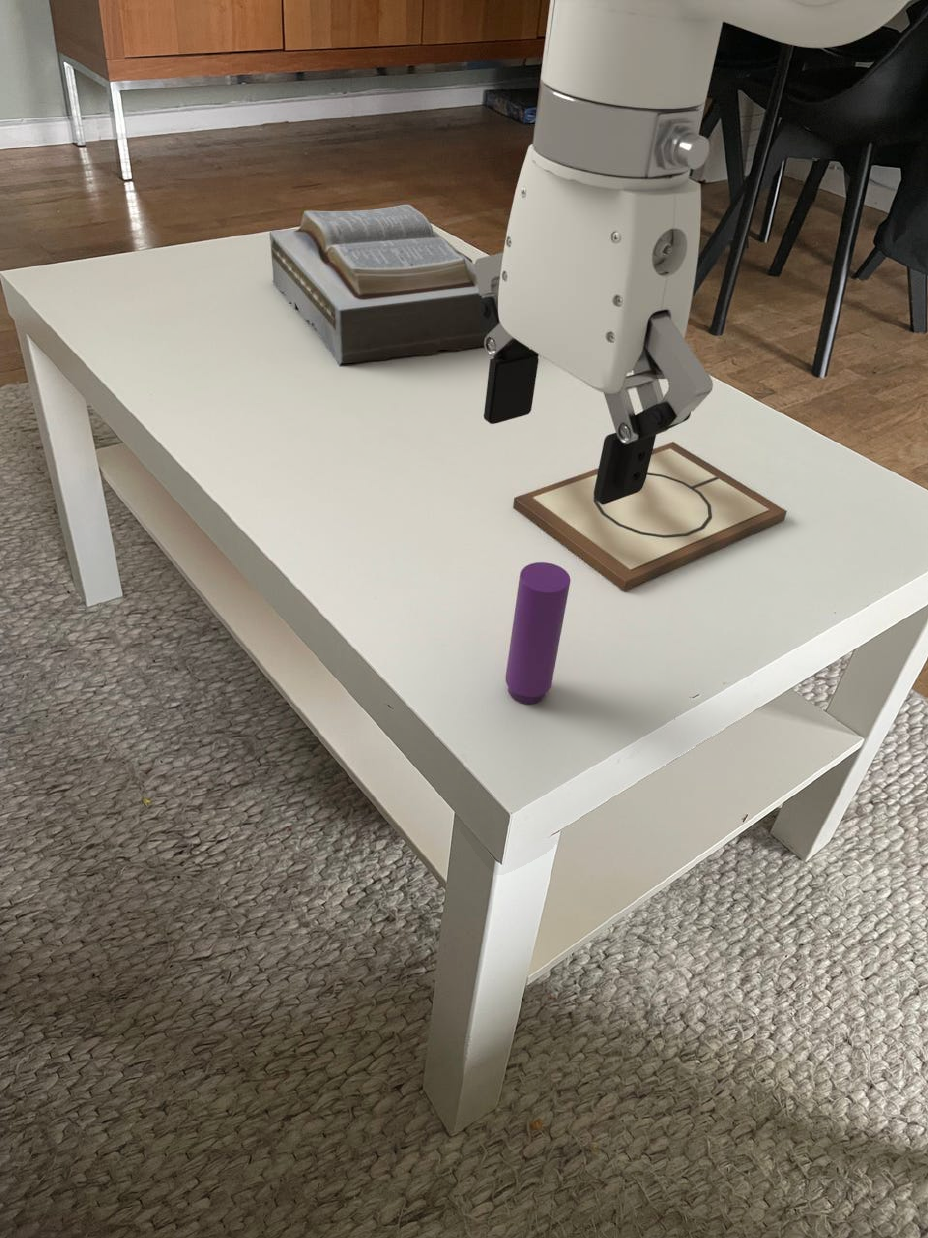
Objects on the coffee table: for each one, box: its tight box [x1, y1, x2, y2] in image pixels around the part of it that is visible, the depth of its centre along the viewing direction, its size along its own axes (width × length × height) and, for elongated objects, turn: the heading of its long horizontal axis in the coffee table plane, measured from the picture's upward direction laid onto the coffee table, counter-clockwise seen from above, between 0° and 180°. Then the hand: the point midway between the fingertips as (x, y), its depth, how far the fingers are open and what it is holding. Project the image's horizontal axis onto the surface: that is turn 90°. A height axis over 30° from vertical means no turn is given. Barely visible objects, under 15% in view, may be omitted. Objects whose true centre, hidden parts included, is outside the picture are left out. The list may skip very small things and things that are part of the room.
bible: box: [268, 204, 488, 367], centre depth 115 cm, size 23×27×10 cm
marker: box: [504, 561, 571, 705], centre depth 67 cm, size 3×3×10 cm
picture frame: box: [512, 441, 788, 592], centre depth 88 cm, size 20×14×1 cm
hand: (559, 454), depth 57 cm, fingers open, 9 cm apart
